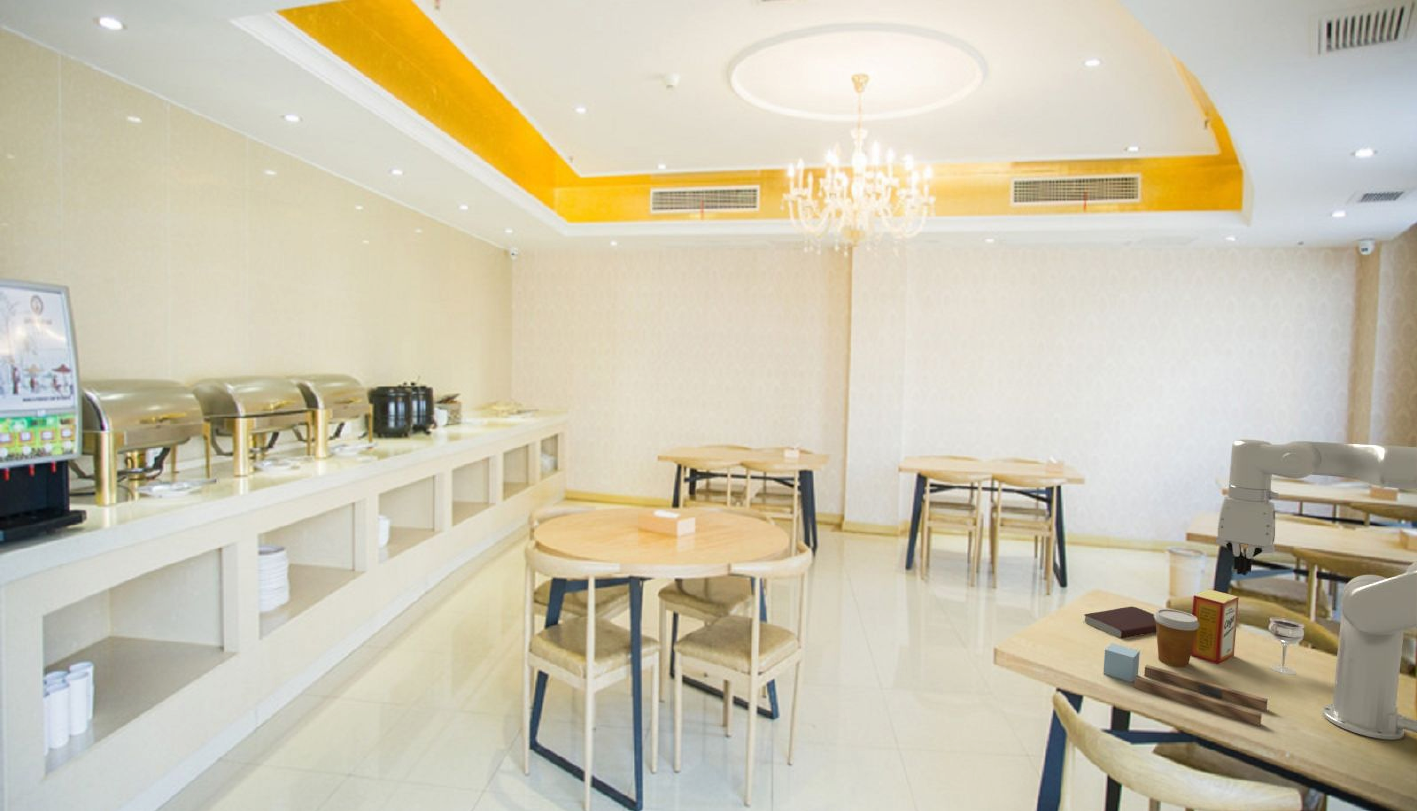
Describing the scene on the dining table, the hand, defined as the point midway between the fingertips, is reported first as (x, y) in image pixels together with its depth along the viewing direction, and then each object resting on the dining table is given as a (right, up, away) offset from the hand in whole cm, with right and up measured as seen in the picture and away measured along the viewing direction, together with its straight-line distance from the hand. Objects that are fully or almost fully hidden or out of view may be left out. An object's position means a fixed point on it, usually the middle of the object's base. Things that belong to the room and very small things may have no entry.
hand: (1242, 573), depth 161 cm
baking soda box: (+7, -26, +20) cm, 33 cm away
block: (-23, -26, +8) cm, 36 cm away
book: (-4, -25, +38) cm, 46 cm away
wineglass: (+19, -27, +12) cm, 35 cm away
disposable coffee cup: (-6, -26, +16) cm, 31 cm away
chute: (-12, -27, -3) cm, 30 cm away
